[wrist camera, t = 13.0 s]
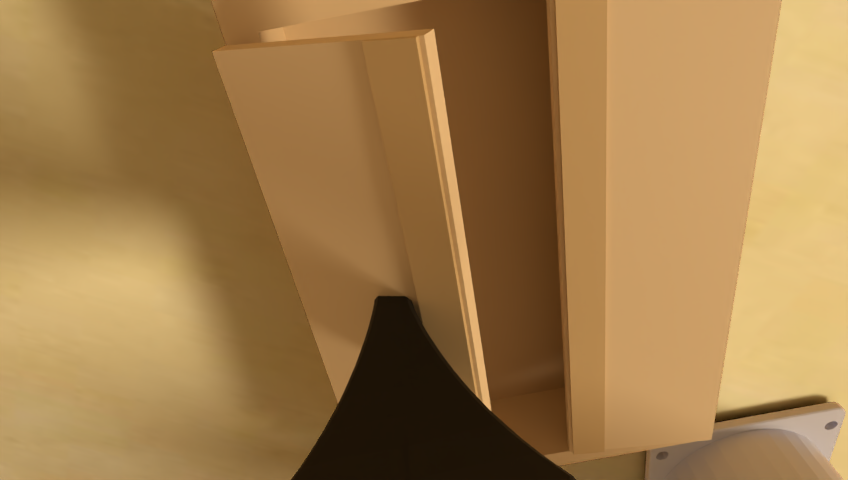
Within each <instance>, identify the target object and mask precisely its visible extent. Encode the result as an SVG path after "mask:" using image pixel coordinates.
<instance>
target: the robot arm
mask: <svg viewBox="0 0 848 480" xmlns="http://www.w3.org/2000/svg"><path fill="white" fill-rule="evenodd" d="M844 417H845V410H844V409H843V408H842V407H841V406H840V405H839V403H836V402H828V403H822V404H817V405H811V406H805V407H800V408H794V409H789V410H783V411H778V412H772V413H766V414H761V415H755V416H750V417H744V418H739V419H733V420H728V421H722V422H716V423H714V428H713V434H712V440H705V441H696V442H690V443H685V444H679V445H674V446H668V447H662V448H657V449H651V450H647V454H646V469H645V480H844V479H843V478H842V477H841V476H840V475H839V473H838V472H837V471H836V470H835V468H834V467H833V466H832V465H831V464H830V462H829V461H830V458H831V455H832V452H833V449H834V446H835V443H836V440H837V437H838V434H839V431H840V428H841V425H842V422H843V419H844ZM291 480H576V479H575V478H574V477H573V476H572V475H571V474H569V473H568V472H566V471H565V470H563V469H562V468H560V467H559V466H557V465H556V464H555V463H553V462H552V461H550V460H549V459H548V458H546V457H545V456H544V455H542V454H541V453H539V452H538V451H537V450H536V449H534V448H533V447H532V446H531V445H529V444H528V443H527V442H526V441H524V440H523V439H522V438H521V437H519V436H518V435H517V434H516V433H515V432H514V431H513V430H512V429H510V428H509V427H508V426H507V425H506V424H505V423H504V422H503V421H501V420H500V419H499V418H498V417H497V416H496V415H495V414H494V413H493V412H491V411H490V410H489V409H488V408H487V407H486V405H485V404H484V403H483V402H482V401H481V400H480V399H479V398H478V397H477V396H476V395H475V394H474V393H473V392H472V391H471V390H470V389H469V387H468V386H467V385H466V384H465V383H464V382H463V381H462V379H461V378H460V377H459V376H458V375H457V373H456V372H455V371H454V370H453V368H452V367H451V366H450V364H449V363H448V362H447V361H446V359H445V358H444V357H443V355H442V354H441V352H440V351H439V350H438V348H437V346H436V345H435V343H434V342H433V340H432V339H431V337H430V336H429V334H428V333H427V331H426V329H425V328H424V326H423V324H422V322H421V320H420V318H419V316H418V314H417V312H416V310H415V308H414V305H413V303H412V300H410V299H409V298H407V297H406V296H378V297H377V298H376V299H375V300H374V306H373V311H372V316H371V320H370V323H369V327H368V330H367V334H366V337H365V340H364V343H363V345H362V348H361V351H360V354H359V357H358V360H357V362H356V365H355V367H354V370H353V372H352V374H351V377H350V379H349V381H348V384H347V386H346V388H345V390H344V393H343V395H342V397H341V399H340V401H339V403H338V405H337V407H336V409H335V411H334V413H333V415H332V416H331V418H330V420H329V422H328V424H327V426H326V427H325V429H324V431H323V432H322V434H321V436H320V437H319V439H318V441H317V442H316V444H315V445H314V447H313V449H312V450H311V452H310V453H309V455H308V457H307V458H306V460H305V461H304V463H303V464H302V465H301V467H300V468H299V470H298V471H297V472H296V474H295V475H294V477H293V478H292V479H291Z"/></svg>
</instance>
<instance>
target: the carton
mask: <svg viewBox="0 0 848 480" xmlns="http://www.w3.org/2000/svg"><path fill="white" fill-rule="evenodd" d="M211 3H212V5H213V8H214V11H215V14H216V17H217V20H218V23H219V26H220V29H221V32H222V35H223V38H224V40H225V43H226V45H238V44H250V43H263V42H275V41H287V40H300V39H312V38H324V37H337V36H349V35H361V34H374V33H386V32H398V31H411V30H423V29H434V32H435V39H436V45H437V52H438V59H439V65H440V72H441V78H442V85H443V92H444V98H445V105H446V112H447V118H448V125H449V132H450V138H451V145H452V152H453V158H454V165H455V172H456V178H457V185H458V191H459V198H460V205H461V211H462V218H463V225H464V231H465V238H466V245H467V251H468V258H469V265H470V271H471V278H472V284H473V291H474V298H475V304H476V311H477V318H478V324H479V331H480V338H481V344H482V351H483V358H484V364H485V371H486V377H487V384H488V391H489V397H490V404H491V411H492V412H493V413H494V414H495V415H496V416H497V417H498V418H499V419H500V420H501V421H503V422H504V423H505V424H506V425H507V426H508V427H509V428H510V429H512V430H513V431H514V432H515V433H516V434H517V435H518V436H519V437H521V438H522V439H523V440H524V441H526V442H527V443H528V444H529V445H531V446H532V447H533V448H534V449H536V450H537V451H538V452H539V453H541V454H542V455H544V456H545V457H546V458H548V459H549V460H550V461H552V462H553V463H555V464H556V465H557V466H562V465H568V464H573V463H579V462H584V461H590V460H595V459H601V458H607V457H612V456H618V455H623V454H629V453H634V452H640V451H646V450H651V449H657V448H662V447H668V446H674V445H679V444H685V443H690V442H682V443H671V444H660V445H648V446H637V447H626V448H614V449H605V452H599V453H588V454H576V455H573V452H570V451H569V447H568V443H567V423H566V402H565V381H564V361H563V340H562V319H561V298H560V277H559V256H558V235H557V214H556V193H555V172H554V151H553V130H552V110H551V89H550V68H549V47H548V26H547V5H546V0H212V1H211ZM694 442H696V441H694Z"/></svg>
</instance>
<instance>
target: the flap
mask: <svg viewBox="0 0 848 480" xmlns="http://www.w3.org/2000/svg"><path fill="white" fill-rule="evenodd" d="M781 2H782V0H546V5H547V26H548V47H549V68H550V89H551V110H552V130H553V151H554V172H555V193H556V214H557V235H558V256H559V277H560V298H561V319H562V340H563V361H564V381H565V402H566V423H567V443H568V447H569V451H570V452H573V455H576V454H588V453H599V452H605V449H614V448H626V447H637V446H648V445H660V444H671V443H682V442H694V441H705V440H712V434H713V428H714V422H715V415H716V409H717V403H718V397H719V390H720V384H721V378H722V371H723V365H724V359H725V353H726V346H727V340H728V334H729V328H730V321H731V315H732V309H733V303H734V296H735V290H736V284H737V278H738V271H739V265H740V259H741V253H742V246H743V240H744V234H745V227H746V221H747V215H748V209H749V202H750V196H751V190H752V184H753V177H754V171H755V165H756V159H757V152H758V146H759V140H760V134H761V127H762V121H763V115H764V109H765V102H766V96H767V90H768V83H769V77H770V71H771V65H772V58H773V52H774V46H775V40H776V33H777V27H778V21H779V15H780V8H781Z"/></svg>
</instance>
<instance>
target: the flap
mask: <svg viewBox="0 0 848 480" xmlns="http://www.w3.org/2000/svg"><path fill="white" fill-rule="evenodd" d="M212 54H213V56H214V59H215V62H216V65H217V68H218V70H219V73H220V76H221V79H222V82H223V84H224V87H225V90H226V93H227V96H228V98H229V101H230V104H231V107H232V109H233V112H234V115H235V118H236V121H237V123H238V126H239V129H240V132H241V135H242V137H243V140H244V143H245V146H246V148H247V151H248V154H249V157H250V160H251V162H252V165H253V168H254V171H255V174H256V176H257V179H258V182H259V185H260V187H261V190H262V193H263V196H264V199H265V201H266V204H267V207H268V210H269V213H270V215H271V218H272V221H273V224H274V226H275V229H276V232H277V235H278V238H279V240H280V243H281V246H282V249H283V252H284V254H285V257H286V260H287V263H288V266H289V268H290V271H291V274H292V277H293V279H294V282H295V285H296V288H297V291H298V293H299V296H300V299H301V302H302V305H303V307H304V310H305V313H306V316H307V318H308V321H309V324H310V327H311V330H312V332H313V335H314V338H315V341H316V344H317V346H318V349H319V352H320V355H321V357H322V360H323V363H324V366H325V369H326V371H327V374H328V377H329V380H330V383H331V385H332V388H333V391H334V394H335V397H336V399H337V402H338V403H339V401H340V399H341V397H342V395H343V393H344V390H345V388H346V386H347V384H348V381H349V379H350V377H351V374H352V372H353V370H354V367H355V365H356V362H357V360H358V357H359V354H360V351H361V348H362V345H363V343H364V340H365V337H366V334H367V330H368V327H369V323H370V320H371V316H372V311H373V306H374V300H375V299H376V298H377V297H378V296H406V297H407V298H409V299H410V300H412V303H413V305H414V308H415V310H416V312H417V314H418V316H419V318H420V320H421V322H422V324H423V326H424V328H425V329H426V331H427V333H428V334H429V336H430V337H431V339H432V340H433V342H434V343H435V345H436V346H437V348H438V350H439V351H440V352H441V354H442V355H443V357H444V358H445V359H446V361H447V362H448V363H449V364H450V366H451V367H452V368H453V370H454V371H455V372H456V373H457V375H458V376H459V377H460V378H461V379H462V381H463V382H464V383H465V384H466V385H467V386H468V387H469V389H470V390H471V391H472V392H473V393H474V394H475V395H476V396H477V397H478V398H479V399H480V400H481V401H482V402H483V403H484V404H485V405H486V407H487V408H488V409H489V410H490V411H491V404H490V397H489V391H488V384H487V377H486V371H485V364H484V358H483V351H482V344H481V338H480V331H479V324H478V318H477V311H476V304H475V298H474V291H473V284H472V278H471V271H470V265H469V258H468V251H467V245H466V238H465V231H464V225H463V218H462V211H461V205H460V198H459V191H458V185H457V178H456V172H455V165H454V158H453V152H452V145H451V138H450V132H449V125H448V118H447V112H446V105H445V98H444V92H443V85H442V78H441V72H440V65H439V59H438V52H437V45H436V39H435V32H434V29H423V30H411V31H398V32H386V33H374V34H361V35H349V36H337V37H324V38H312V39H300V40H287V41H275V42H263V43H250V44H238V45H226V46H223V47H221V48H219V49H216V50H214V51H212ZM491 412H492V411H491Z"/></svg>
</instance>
